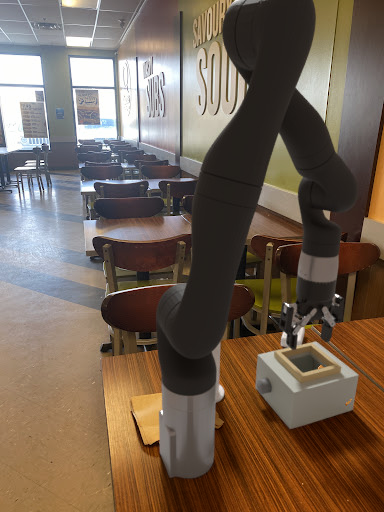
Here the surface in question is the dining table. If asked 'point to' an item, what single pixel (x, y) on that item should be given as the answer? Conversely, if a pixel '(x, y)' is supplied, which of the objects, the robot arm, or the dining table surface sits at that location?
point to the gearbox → (305, 384)
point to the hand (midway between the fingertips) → (308, 344)
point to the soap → (299, 339)
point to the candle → (218, 387)
